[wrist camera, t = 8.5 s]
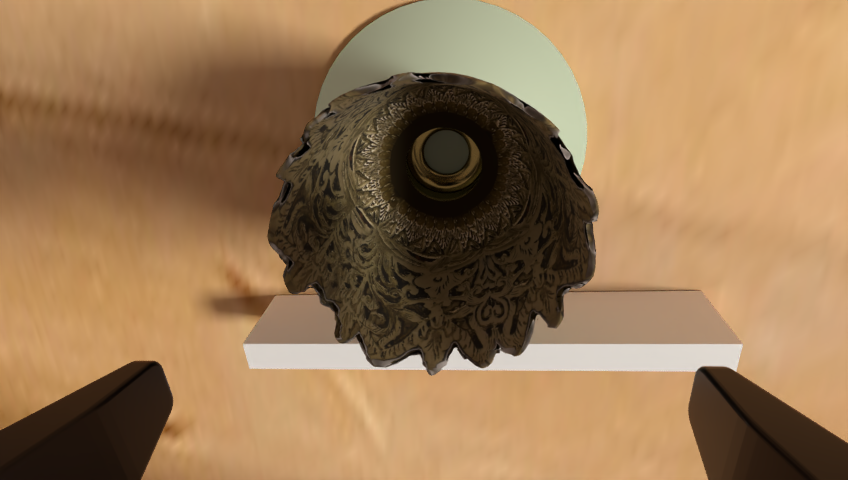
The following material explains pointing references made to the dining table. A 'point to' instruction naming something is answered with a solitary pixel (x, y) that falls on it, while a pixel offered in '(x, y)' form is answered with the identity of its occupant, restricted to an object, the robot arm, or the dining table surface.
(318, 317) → the acrylic wall
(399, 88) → the cup
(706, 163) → the dining table surface
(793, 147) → the dining table surface
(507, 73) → the pad
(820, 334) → the dining table surface
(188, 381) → the dining table surface
